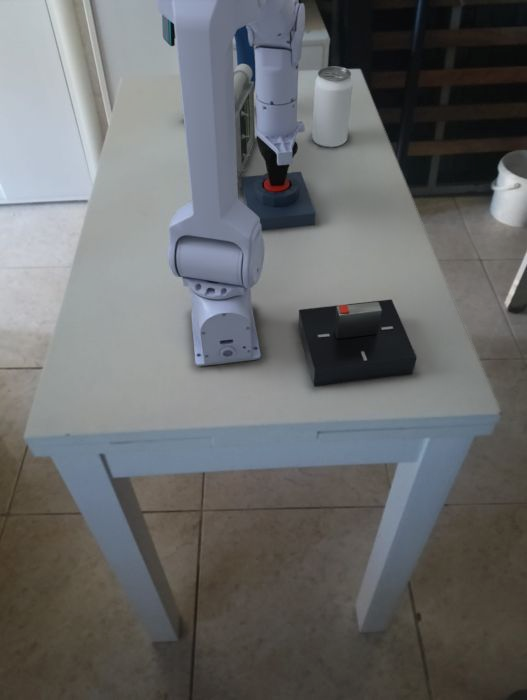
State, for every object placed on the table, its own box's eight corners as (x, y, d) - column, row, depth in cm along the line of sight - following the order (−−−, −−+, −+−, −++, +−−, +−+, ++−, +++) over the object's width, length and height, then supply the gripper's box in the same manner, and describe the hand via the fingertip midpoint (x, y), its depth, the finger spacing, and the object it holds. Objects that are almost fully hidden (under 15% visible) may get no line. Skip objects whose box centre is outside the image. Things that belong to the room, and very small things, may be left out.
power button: (291, 198, 89) (291, 189, 87) (266, 201, 88) (265, 191, 87) (287, 184, 91) (287, 175, 90) (262, 187, 91) (262, 177, 90)
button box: (314, 225, 88) (316, 203, 85) (250, 231, 87) (249, 209, 84) (300, 183, 96) (301, 161, 93) (241, 188, 95) (240, 167, 92)
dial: (374, 325, 69) (378, 299, 66) (377, 334, 68) (382, 308, 65) (333, 330, 69) (336, 304, 66) (336, 339, 68) (339, 313, 65)
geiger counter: (231, 117, 82) (265, 50, 99) (189, 113, 83) (230, 47, 100) (236, 200, 93) (266, 127, 109) (198, 196, 94) (234, 124, 110)
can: (345, 149, 103) (352, 82, 94) (310, 147, 104) (313, 80, 95) (348, 132, 107) (354, 66, 98) (313, 130, 108) (317, 64, 99)
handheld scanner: (173, 121, 111) (158, 10, 96) (248, 104, 116) (245, -5, 101) (180, 131, 109) (167, 19, 94) (257, 114, 113) (256, 3, 98)
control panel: (388, 315, 75) (392, 298, 72) (412, 374, 68) (417, 356, 66) (298, 326, 74) (298, 308, 71) (313, 386, 67) (314, 369, 65)
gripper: (316, 118, 74) (311, 207, 84) (296, 71, 83) (293, 156, 94) (262, 122, 73) (263, 212, 83) (248, 75, 83) (251, 160, 93)
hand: (276, 183), depth 89 cm, fingers closed, pressing on power button
